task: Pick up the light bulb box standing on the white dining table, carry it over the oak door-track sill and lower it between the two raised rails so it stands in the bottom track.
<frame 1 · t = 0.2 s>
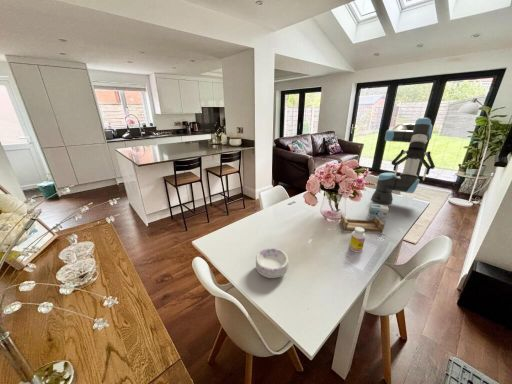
hand: (408, 177, 120), 35 cm above the table, tool tilted 35°, fingers open, 13 cm apart
light bulb box: (376, 220, 145), on the table
track sill: (360, 227, 136), on the table
supplement bottle: (355, 249, 115), on the table
white marbled bowl: (271, 271, 101), on the table
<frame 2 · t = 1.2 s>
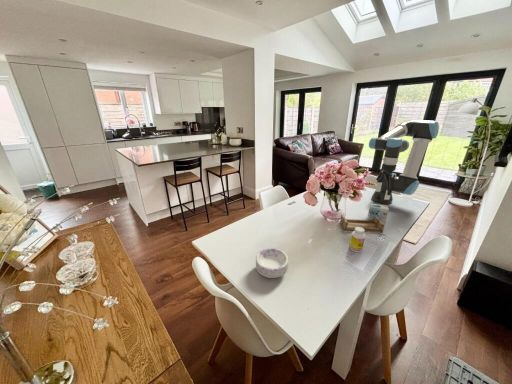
hand: (382, 195, 138), 19 cm above the table, tool pointing down, fingers open, 13 cm apart
nothing on the table moved.
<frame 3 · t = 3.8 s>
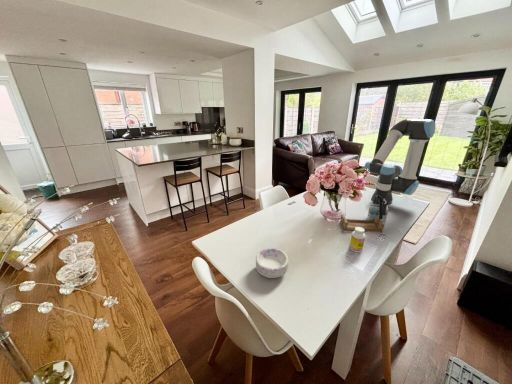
hand: (376, 219, 144), 0 cm above the table, tool pointing down, fingers closed on light bulb box, 8 cm apart
light bulb box: (376, 220, 145), on the table, touching gripper
everything else where it was.
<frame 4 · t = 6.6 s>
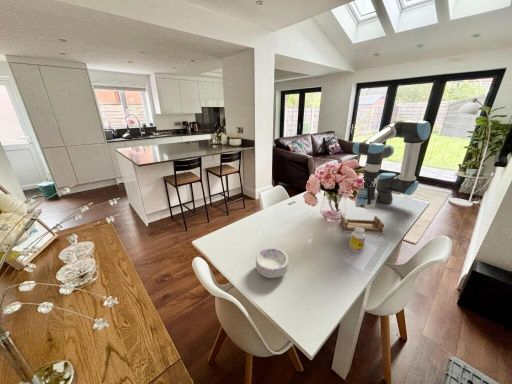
hand: (364, 205, 130), 16 cm above the table, tool pointing down, fingers closed on light bulb box, 8 cm apart
light bulb box: (364, 206, 131), point 15 cm above the table, touching gripper
everything else where it was.
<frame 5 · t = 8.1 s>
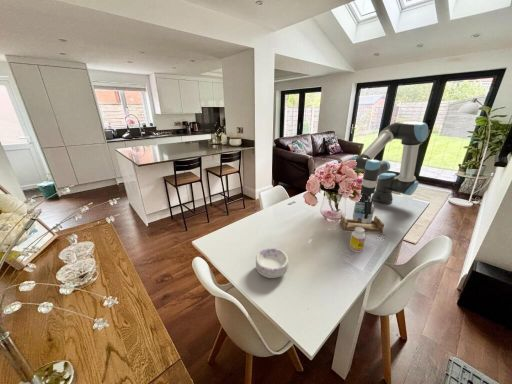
hand: (361, 219, 134), 6 cm above the table, tool pointing down, fingers closed on light bulb box, 8 cm apart
light bulb box: (361, 219, 134), point 5 cm above the table, touching gripper
everything else where it was.
when the fingers open (4 cm above the table, at t = 9.4 s): light bulb box drops 2 cm, resting on track sill.
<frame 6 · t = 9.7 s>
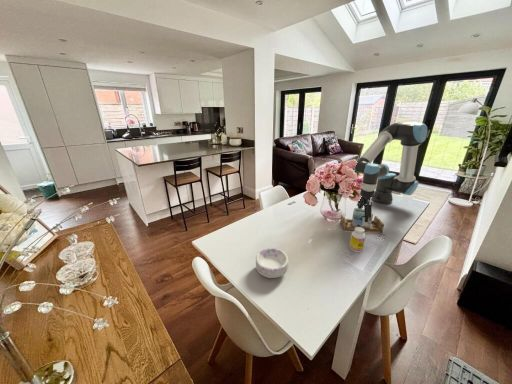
hand: (361, 221, 135), 4 cm above the table, tool pointing down, fingers open, 10 cm apart
light bulb box: (360, 226, 136), point 1 cm above the table, touching track sill
everything else where it was.
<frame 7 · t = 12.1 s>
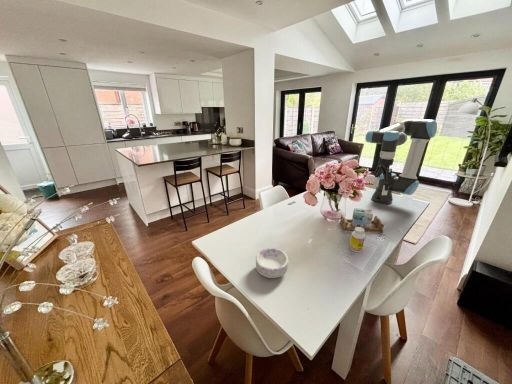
hand: (379, 190, 133), 23 cm above the table, tool pointing down, fingers open, 13 cm apart
nothing on the table moved.
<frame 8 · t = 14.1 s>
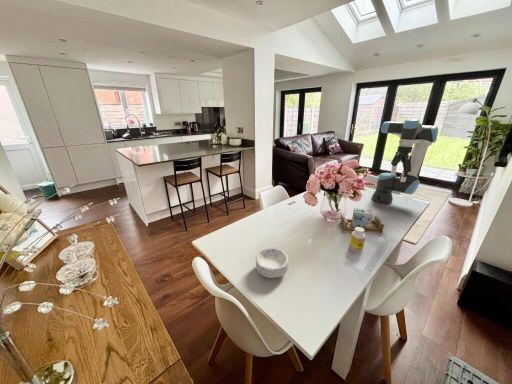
hand: (397, 178, 138), 29 cm above the table, tool pointing down, fingers open, 13 cm apart
nothing on the table moved.
at the end: light bulb box inside the target area on the track sill (0.3 cm from its centre), point 0.8 cm above the track sill's base; light bulb box tilted 0°; the gripper is holding nothing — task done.
